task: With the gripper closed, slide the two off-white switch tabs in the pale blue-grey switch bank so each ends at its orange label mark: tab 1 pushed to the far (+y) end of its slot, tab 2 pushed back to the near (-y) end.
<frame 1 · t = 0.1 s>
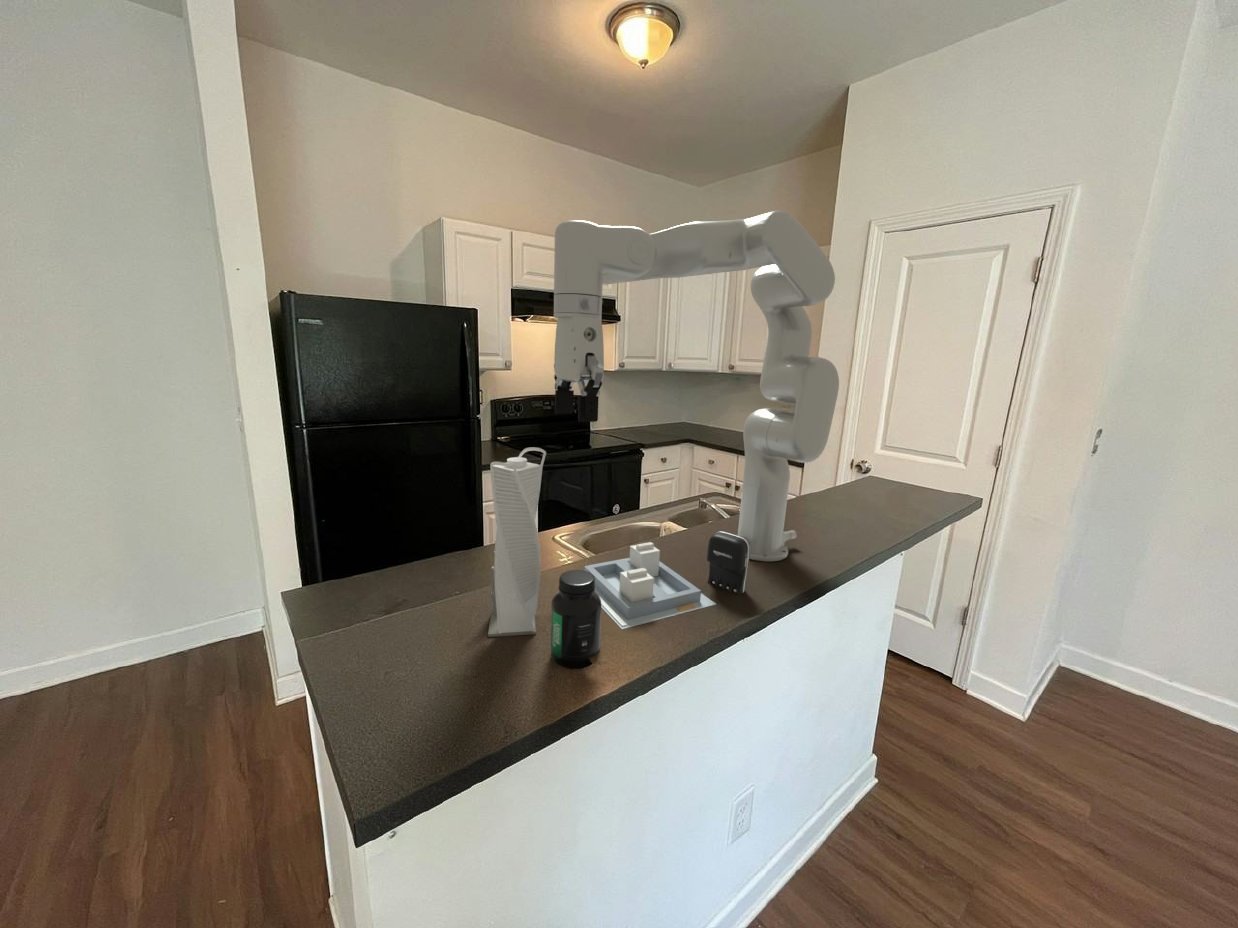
hand: (575, 417, 80), 31 cm above the countertop, fingers open, 9 cm apart
supplement bottle: (575, 656, 68), on the countertop
switch bank: (639, 595, 86), on the countertop
tab 1: (644, 558, 90), point 5 cm above the countertop, slide at 0.0 cm
tab 2: (636, 587, 79), point 5 cm above the countertop, slide at 9.0 cm
battery charger: (723, 596, 87), on the countertop
skyscraper: (517, 625, 75), on the countertop
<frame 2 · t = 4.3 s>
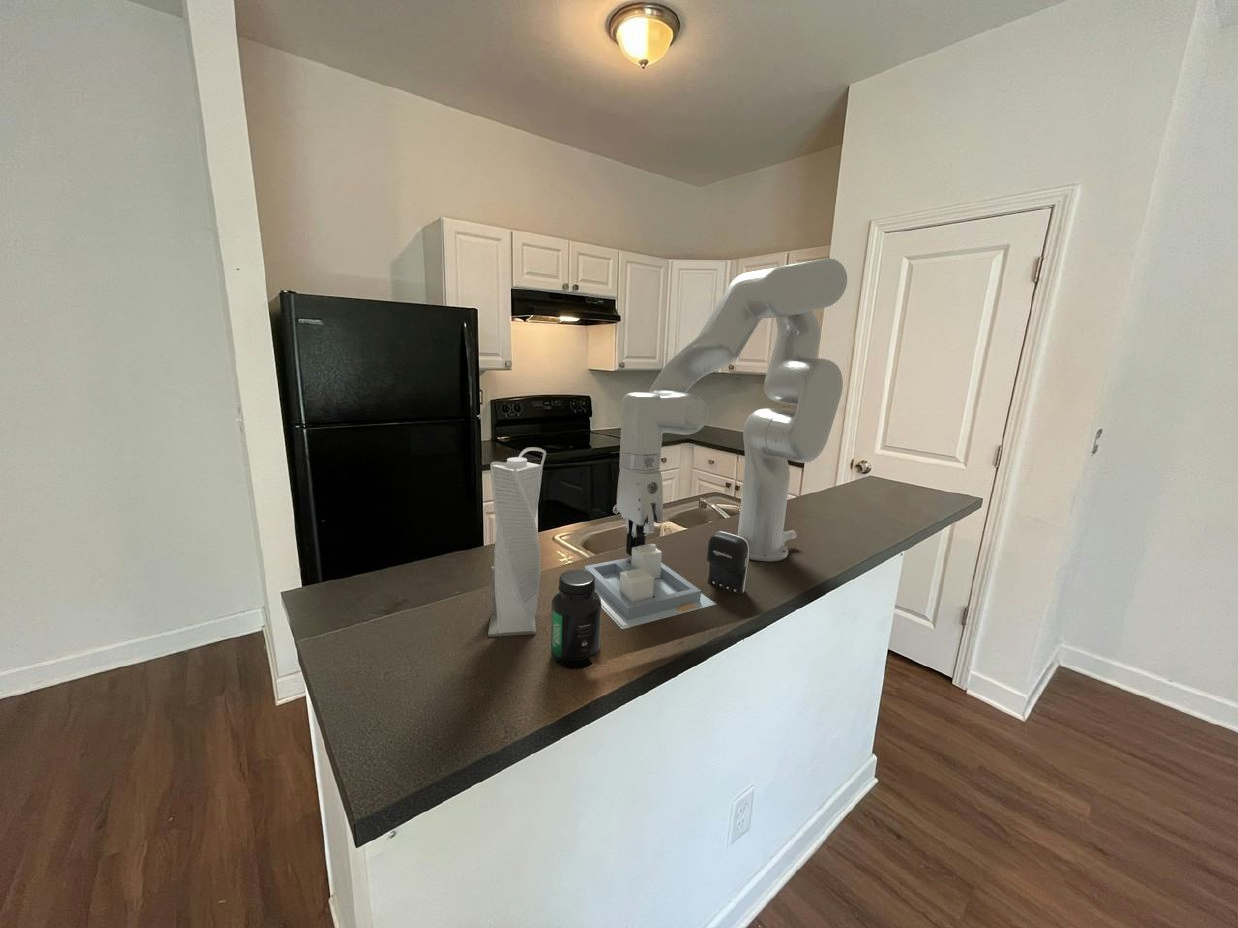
hand: (635, 553, 93), 4 cm above the countertop, fingers closed
tab 1: (646, 560, 90), point 5 cm above the countertop, slide at 0.7 cm, touching gripper
everything else where it was.
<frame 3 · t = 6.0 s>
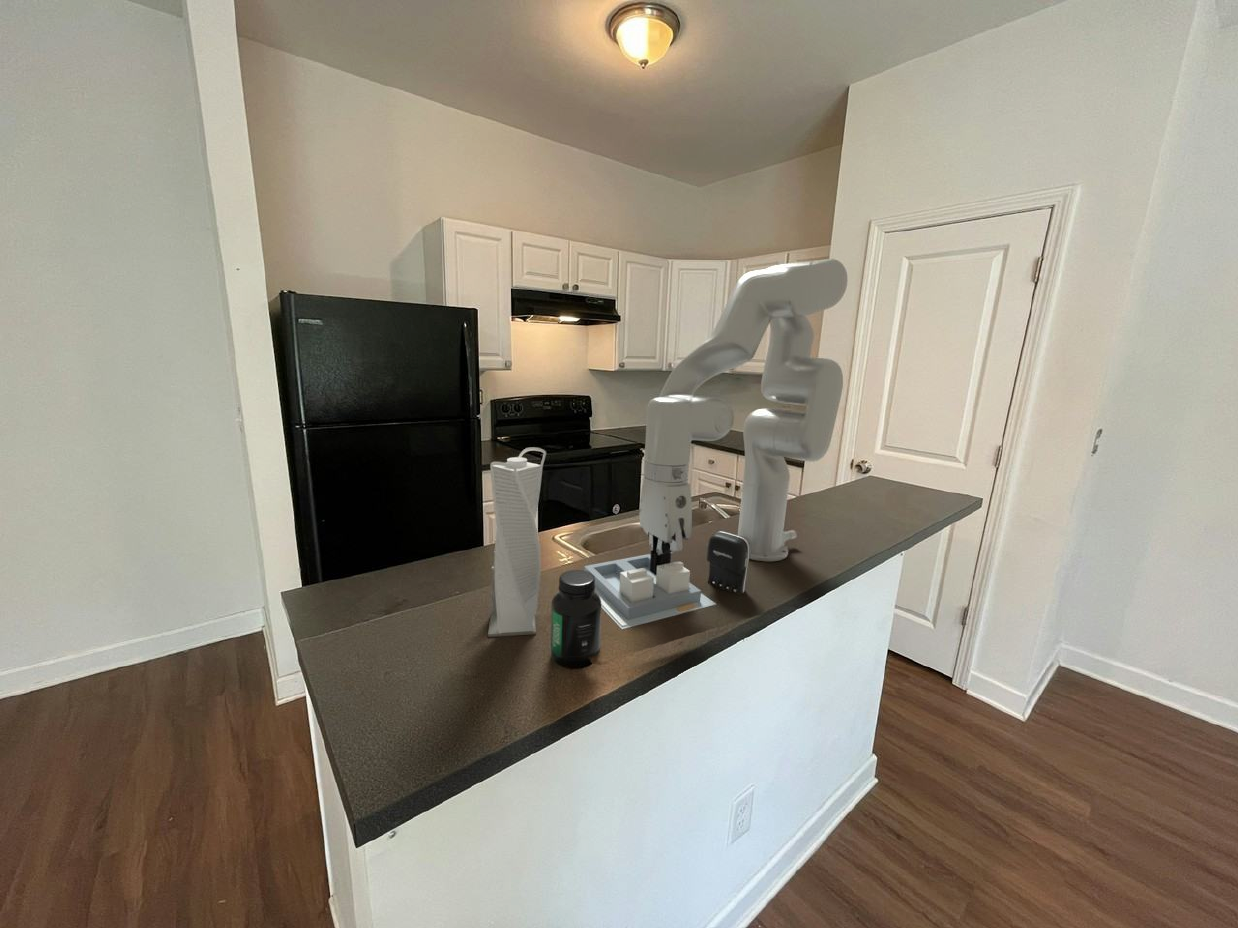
hand: (659, 571, 86), 4 cm above the countertop, fingers closed
tab 1: (672, 579, 82), point 5 cm above the countertop, slide at 9.3 cm, touching gripper
everything else where it was.
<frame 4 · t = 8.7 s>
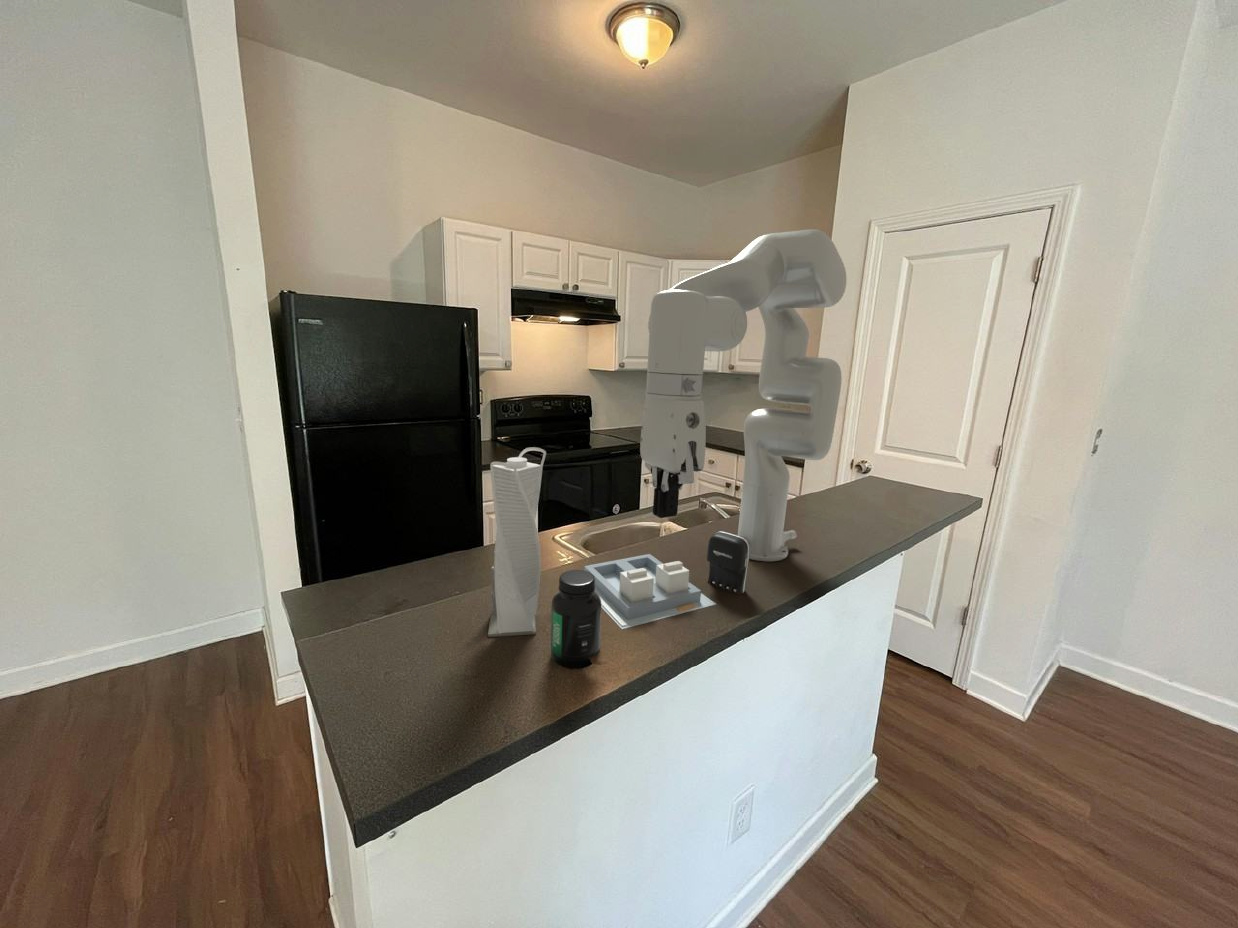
hand: (664, 515, 70), 19 cm above the countertop, fingers closed
tab 1: (671, 579, 82), point 5 cm above the countertop, slide at 9.1 cm
everything else where it was.
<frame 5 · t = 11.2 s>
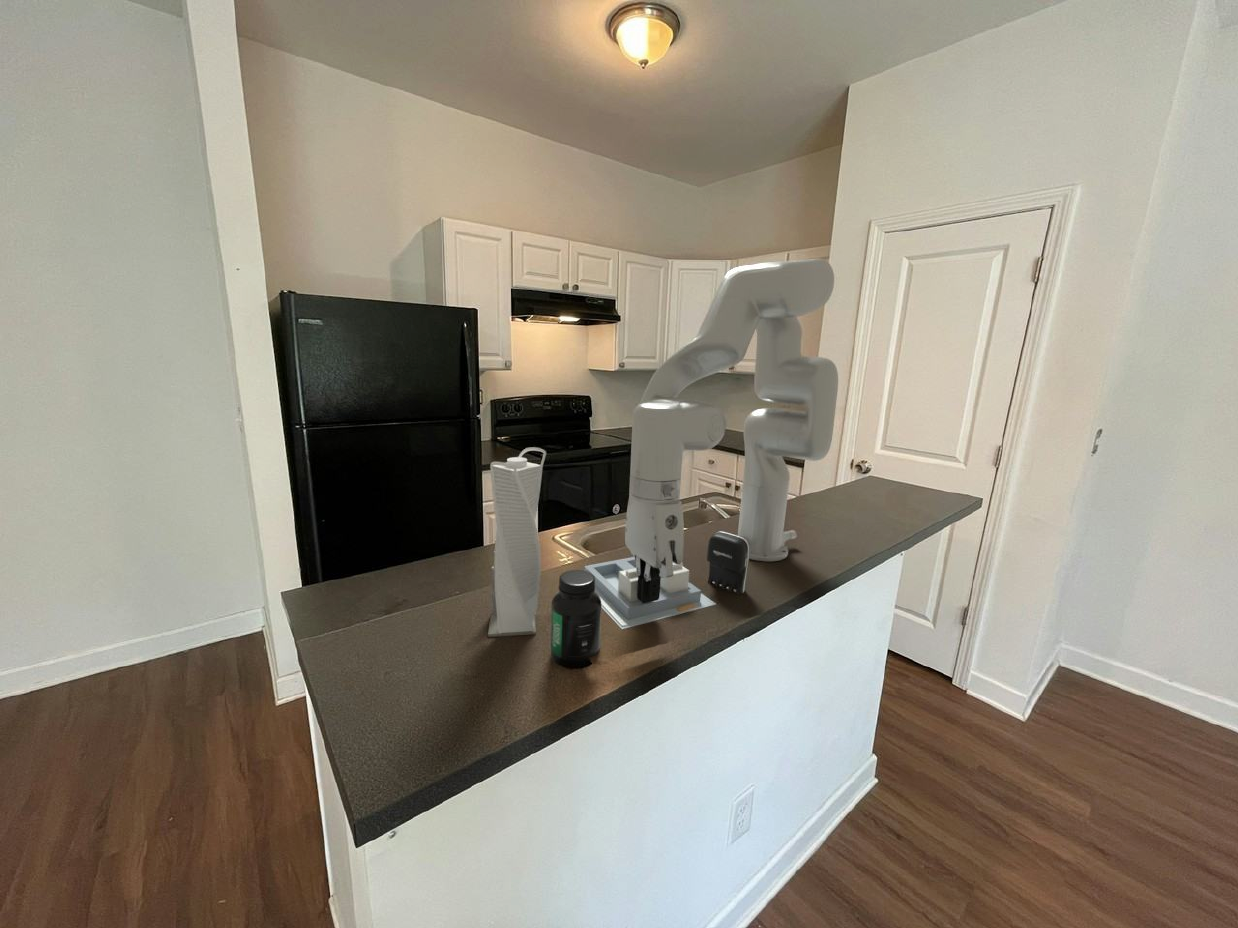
hand: (648, 599, 76), 4 cm above the countertop, fingers closed
tab 2: (635, 585, 80), point 5 cm above the countertop, slide at 8.6 cm, touching gripper
everything else where it was.
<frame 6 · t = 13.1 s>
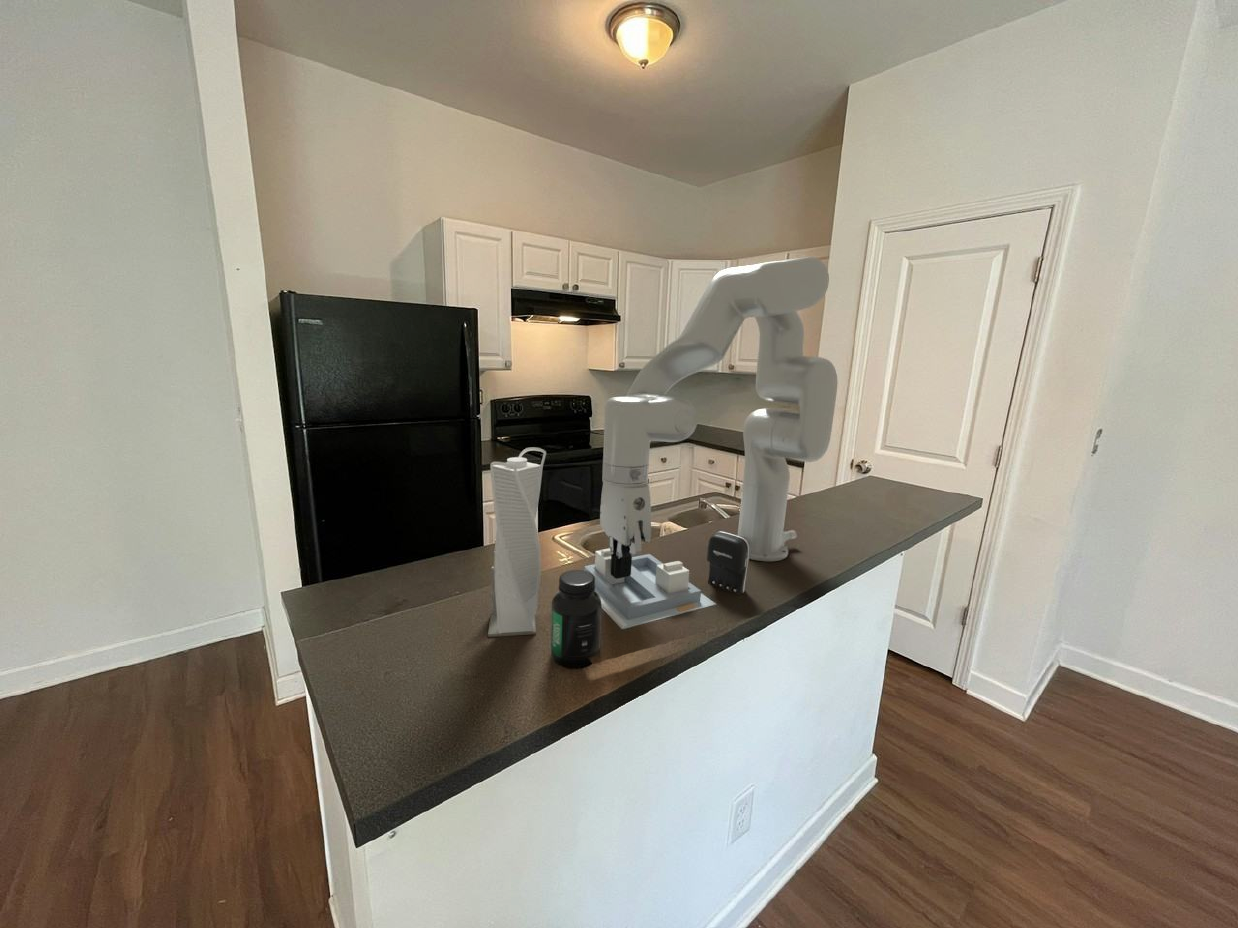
hand: (620, 575, 84), 4 cm above the countertop, fingers closed
tab 2: (609, 564, 87), point 5 cm above the countertop, slide at -0.4 cm, touching gripper
everything else where it was.
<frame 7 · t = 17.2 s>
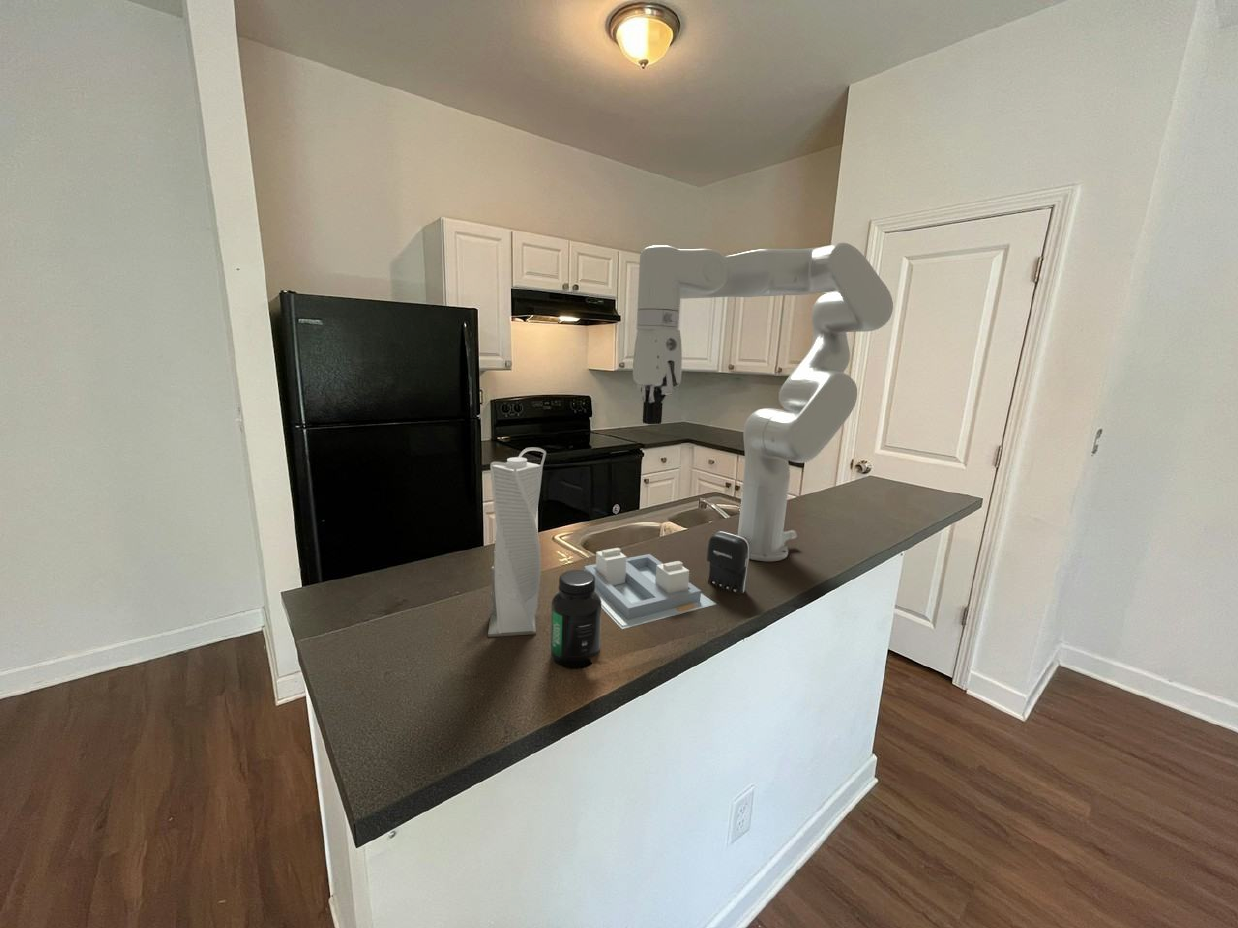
hand: (651, 423, 91), 29 cm above the countertop, fingers closed
tab 2: (610, 565, 87), point 5 cm above the countertop, slide at -0.1 cm
everything else where it was.
at the end: tab 1 slide at 9.1 cm; tab 2 slide at -0.1 cm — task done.
